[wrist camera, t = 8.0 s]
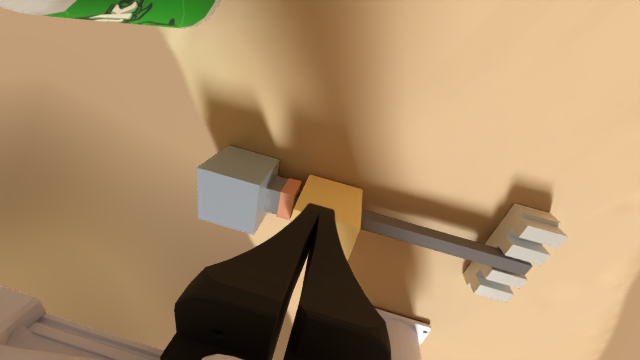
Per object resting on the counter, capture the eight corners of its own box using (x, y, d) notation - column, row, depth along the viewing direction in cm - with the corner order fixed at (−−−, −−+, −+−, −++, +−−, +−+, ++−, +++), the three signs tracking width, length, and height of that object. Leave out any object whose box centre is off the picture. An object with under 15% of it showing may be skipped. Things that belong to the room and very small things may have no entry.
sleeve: (350, 223, 25) (345, 266, 20) (301, 208, 25) (285, 248, 20) (362, 189, 23) (360, 228, 18) (309, 174, 23) (293, 209, 18)
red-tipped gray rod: (525, 244, 22) (542, 266, 20) (508, 264, 24) (523, 287, 21) (275, 174, 24) (265, 187, 21) (272, 197, 25) (262, 212, 23)
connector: (288, 207, 26) (271, 240, 22) (226, 189, 26) (198, 218, 22) (296, 164, 24) (279, 191, 19) (228, 145, 24) (196, 167, 19)
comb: (492, 282, 26) (503, 305, 24) (462, 274, 26) (471, 295, 24) (550, 212, 22) (571, 232, 19) (514, 203, 22) (531, 221, 19)
